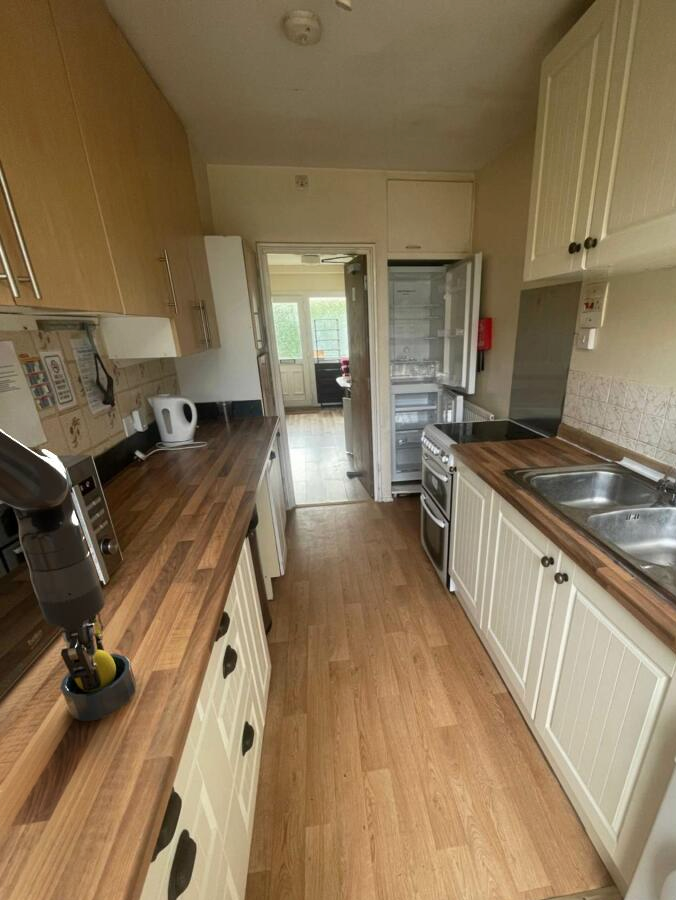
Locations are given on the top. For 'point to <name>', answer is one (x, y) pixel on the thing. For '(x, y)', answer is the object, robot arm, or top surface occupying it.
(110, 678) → the lemon
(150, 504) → the top surface
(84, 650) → the robot arm
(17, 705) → the top surface
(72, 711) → the bowl
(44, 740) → the top surface
